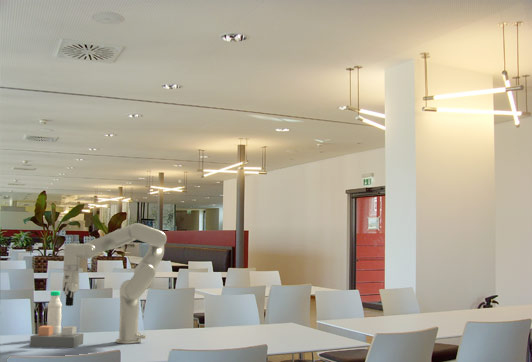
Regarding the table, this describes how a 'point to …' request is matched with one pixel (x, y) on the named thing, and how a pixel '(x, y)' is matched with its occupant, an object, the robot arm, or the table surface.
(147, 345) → the table surface
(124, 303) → the robot arm
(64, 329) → the grey button
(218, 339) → the table surface
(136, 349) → the table surface
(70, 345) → the block
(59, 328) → the water bottle
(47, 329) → the terracotta button
